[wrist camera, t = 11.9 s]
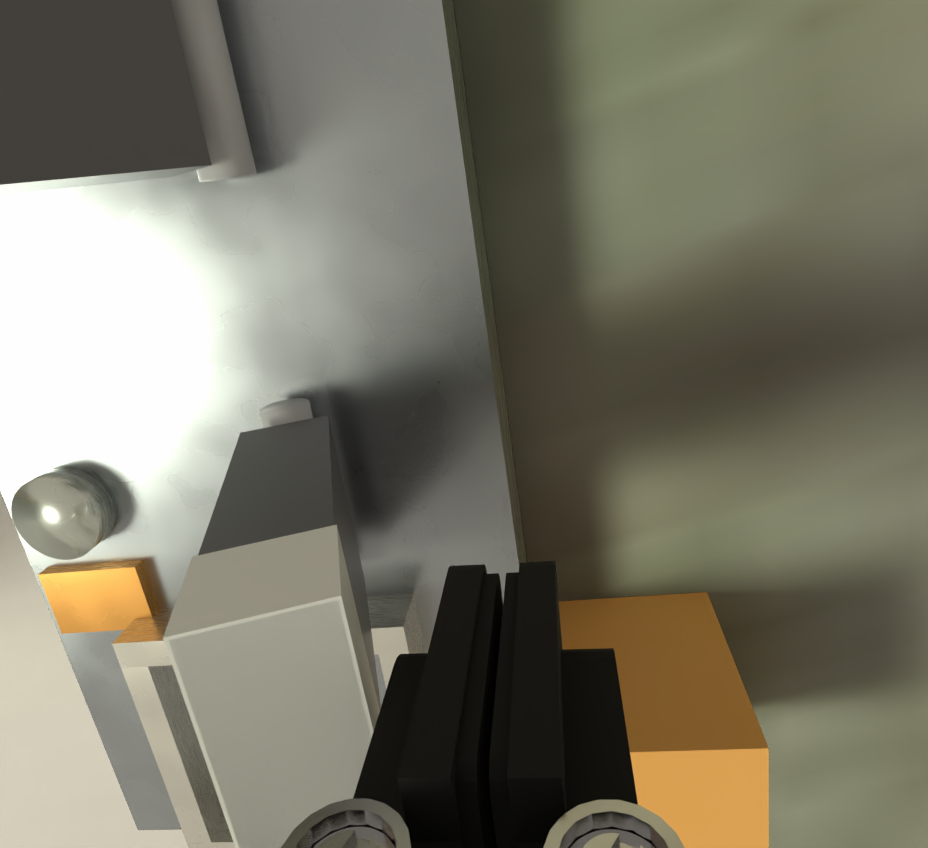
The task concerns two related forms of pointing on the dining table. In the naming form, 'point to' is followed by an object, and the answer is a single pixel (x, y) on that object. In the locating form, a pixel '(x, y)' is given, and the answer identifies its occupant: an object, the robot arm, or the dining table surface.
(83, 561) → the breaker panel
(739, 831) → the orange rectangular block
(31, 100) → the block
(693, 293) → the dining table surface
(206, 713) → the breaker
